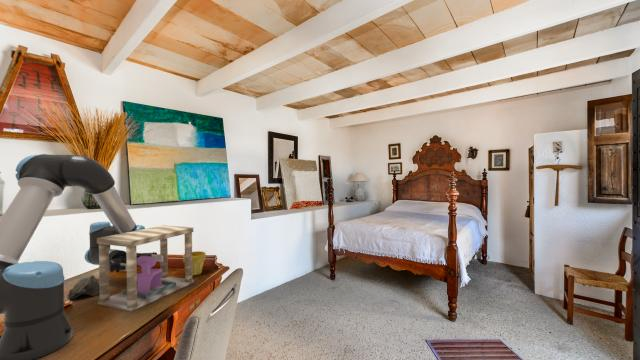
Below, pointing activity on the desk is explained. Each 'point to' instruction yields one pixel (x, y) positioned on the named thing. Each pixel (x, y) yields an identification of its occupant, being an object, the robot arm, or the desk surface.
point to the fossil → (85, 287)
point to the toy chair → (147, 274)
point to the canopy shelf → (130, 240)
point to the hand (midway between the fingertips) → (148, 263)
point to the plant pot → (197, 261)
